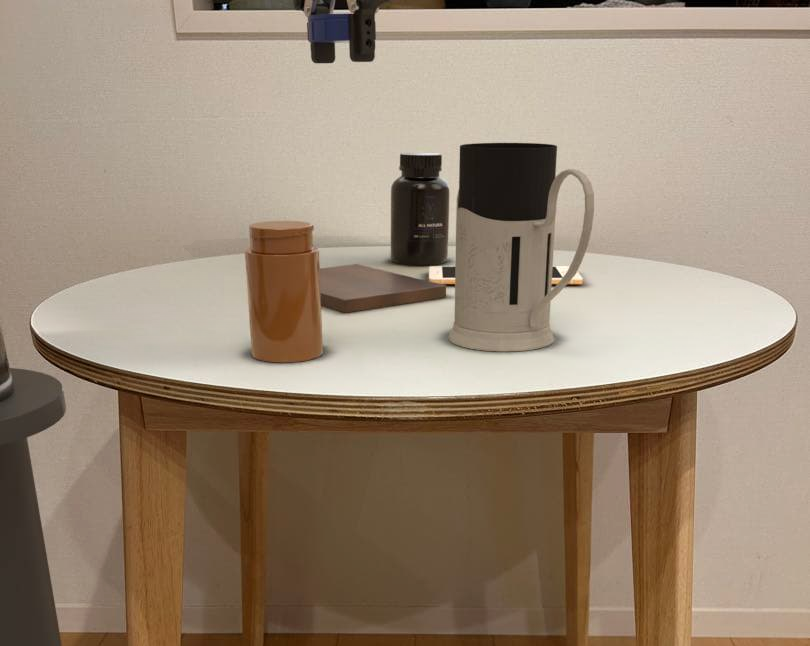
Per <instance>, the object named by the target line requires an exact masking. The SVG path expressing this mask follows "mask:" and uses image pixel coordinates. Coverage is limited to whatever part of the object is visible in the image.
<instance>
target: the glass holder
mask: <svg viewBox="0 0 810 646" xmlns="http://www.w3.org/2000/svg"><path fill="white" fill-rule="evenodd" d="M557 153H558V146H557V145H556V144H552V143H551V144H549V143H537V142H482V143H481V142H478V143H476V142H475V143H465V144H460V145H459V165H458V166H459V168H458V170H459V172H458V173H459V175H458V190H457V195H456V206H455V207H456V212H455V215H456V216H455V217H456V218H455V262H454V263H455V264H454V266H455V284H454V321H453V323H452V324H453V325H452V329H451V330H450V332H449V334H448V341H449V342H450V343H452V344H454V345H456V346H459V347H463V348H467V349H471V350H477V351H488V352H522V351H524V352H525V351H533V350H538V349H543V348H545V347H548V346H550V345H552V344H553V343H554V341H555V337H554V334H553V332H552V330H551V324H550V320H551V301H552V300H554V298H555V297H556V296H558V294H560V293H561V291H562V290H563V289H564V288H565V287H566V286H568V285H569V284H568V283H569V282H570V281H571V279H572V278H573V277H574V276H575V274H576V273H577V271H578V272H579V268H580V266H581V264H582V262H583V260H584V257H585V254H586V252H587V249H588V247H589V242H590V238H591V234H592V229H593V222H594V213H595V193H594V189H593V186H592V182H591V181H590V179H589V177H588V175H586V174H585V173H584V172H582V171H581V170H579V169H575V168H574V169H573V168H567V169H565V170H562V171H560V172H559V173H558V174H557V155H558V154H557ZM556 174H557V175H556ZM569 175H572V176H573V177H575V178H577V180H578V181H579V182H580V185H582V189H583V194H584V215H583V223H582V231H581V234H580V238H579V241H578V246H577V248H576V251H575V254H574V256H573V259H572V261H571V263H570V265H569V266H570V267H569V269H568V271H567V273H566V274H565V275H564V277H563V278H562V279H561V280H560V282H559V283H558V284H555V286H554V287H553V288H552V285H553V284H552V268H553V266H554V251H555V231H556V215H557V213H556V212H557V204H558V203H557V202H558V198H559V197H558V196H559V192H560V189H561V186H562V184H563V182H564V181H565V179H566V178H567V177H568V176H569Z"/></svg>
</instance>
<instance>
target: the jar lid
mask: <svg viewBox="0 0 810 646" xmlns="http://www.w3.org/2000/svg"><path fill="white" fill-rule="evenodd" d="M349 14H350V13H333V14H318V15H309V16H308V17H307V22H306V31H307V41H308V42H309V44H311V43H335V44H347V43H348V44H349V17H348V15H349ZM376 27H377V26H376V24H375V41H376V40H377V31H376Z"/></svg>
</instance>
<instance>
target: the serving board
mask: <svg viewBox="0 0 810 646" xmlns="http://www.w3.org/2000/svg"><path fill="white" fill-rule="evenodd" d="M320 289H321V307H326V308H329V309H332V310H335V311H339V312H342V313H345V314H346V313H353V312H359V311H366V310H373V309H379V308H385V307H393V306H400V305H405V304H412V303H418V302H425V301H430V300H431V301H432V300H438V299H445V298H447V284H438V283H434V282H430V281H429V280H425V279H420V278H416V277H413V276H409V275H405V274H399V273H396V272H391V271H387V270H383V269H379V268H374V267H372V266H371V267H370V266H366V265H361V264H357V263H354V264H345V265H337V266H329V267H320Z"/></svg>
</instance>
